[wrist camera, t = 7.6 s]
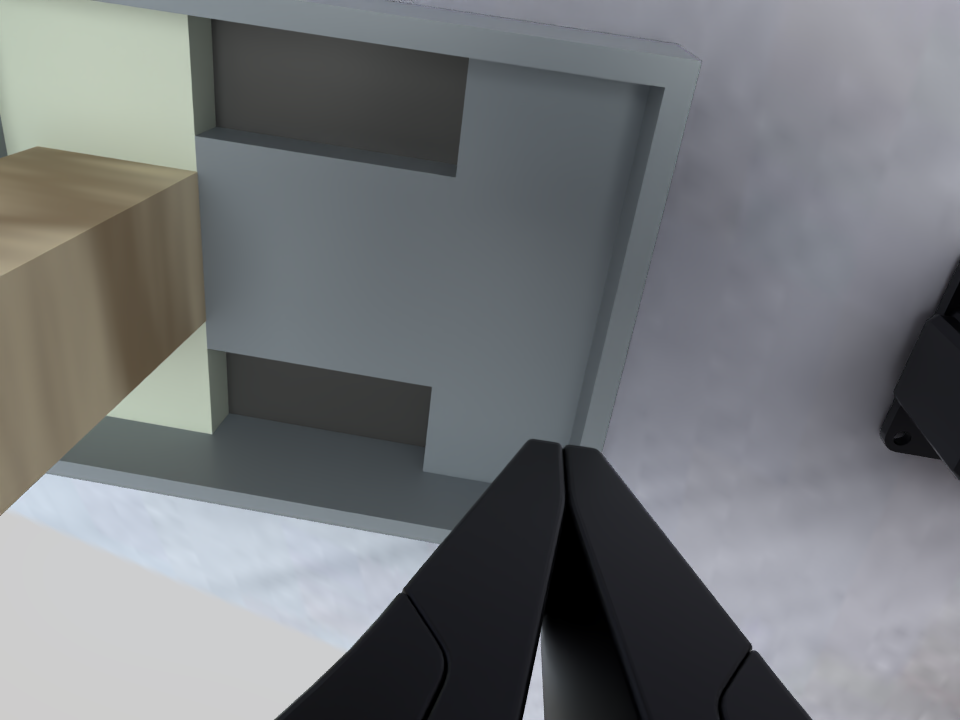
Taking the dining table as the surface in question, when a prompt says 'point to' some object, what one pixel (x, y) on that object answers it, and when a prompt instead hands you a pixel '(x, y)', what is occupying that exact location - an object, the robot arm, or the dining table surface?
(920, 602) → the dining table surface
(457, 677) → the robot arm
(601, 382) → the box
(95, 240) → the maple post
